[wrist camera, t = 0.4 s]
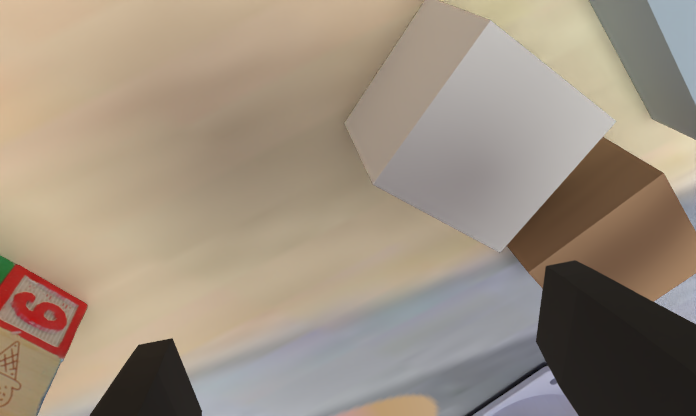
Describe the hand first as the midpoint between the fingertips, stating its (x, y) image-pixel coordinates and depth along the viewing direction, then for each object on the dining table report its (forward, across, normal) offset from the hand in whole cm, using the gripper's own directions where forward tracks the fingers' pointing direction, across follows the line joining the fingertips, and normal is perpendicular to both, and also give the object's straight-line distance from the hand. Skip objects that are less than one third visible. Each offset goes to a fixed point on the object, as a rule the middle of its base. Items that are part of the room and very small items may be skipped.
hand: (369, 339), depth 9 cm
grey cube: (+10, -5, -1) cm, 11 cm away
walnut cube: (+10, -10, +4) cm, 14 cm away
